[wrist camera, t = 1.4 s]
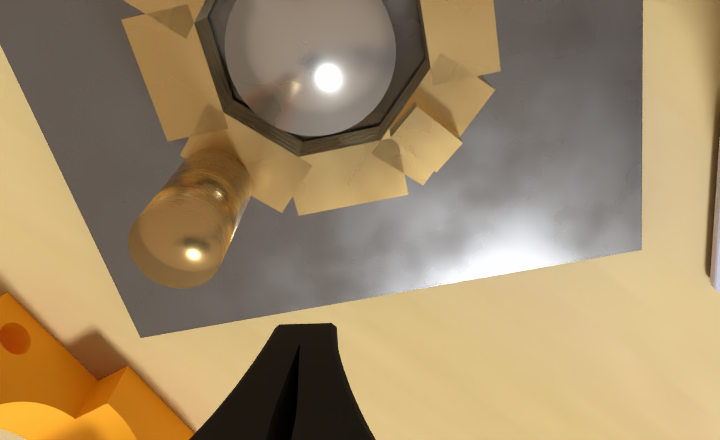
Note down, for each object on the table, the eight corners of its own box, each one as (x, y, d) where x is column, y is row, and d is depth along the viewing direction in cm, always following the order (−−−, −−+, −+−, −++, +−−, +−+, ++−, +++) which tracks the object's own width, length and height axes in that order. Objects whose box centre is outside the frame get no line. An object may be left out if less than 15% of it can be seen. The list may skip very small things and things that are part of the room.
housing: (626, -486, 14) (720, -640, 10) (630, 237, 22) (681, 294, 19) (-122, -261, 16) (-268, -322, 12) (149, 323, 24) (111, 389, 21)
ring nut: (461, -205, 15) (512, -281, 10) (501, 158, 20) (551, 238, 14) (88, -108, 16) (-45, -130, 11) (207, 216, 21) (154, 309, 15)
